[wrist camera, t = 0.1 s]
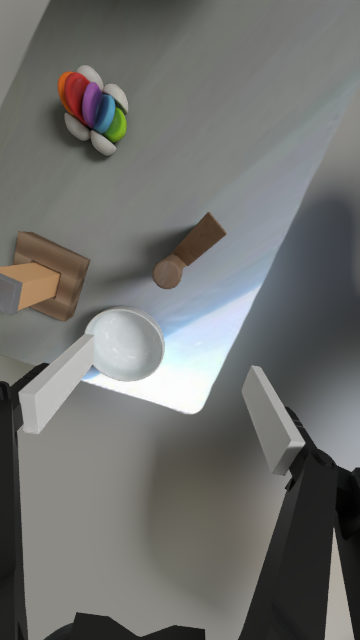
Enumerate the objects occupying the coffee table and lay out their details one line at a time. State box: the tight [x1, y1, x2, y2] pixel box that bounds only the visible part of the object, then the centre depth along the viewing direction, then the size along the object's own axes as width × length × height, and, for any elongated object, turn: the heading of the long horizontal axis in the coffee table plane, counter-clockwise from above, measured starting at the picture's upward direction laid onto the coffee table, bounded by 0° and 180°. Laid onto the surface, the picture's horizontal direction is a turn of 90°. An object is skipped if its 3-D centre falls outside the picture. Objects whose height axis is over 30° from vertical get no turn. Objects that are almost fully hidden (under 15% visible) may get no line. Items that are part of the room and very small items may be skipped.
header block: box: [13, 231, 90, 322], centre depth 40 cm, size 14×12×4 cm
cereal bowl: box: [84, 306, 165, 381], centre depth 43 cm, size 17×17×7 cm
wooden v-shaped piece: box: [152, 212, 227, 289], centre depth 31 cm, size 4×11×18 cm, turn 134°
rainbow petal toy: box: [58, 65, 128, 156], centre depth 29 cm, size 8×10×7 cm
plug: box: [0, 262, 62, 315], centre depth 36 cm, size 5×5×14 cm
